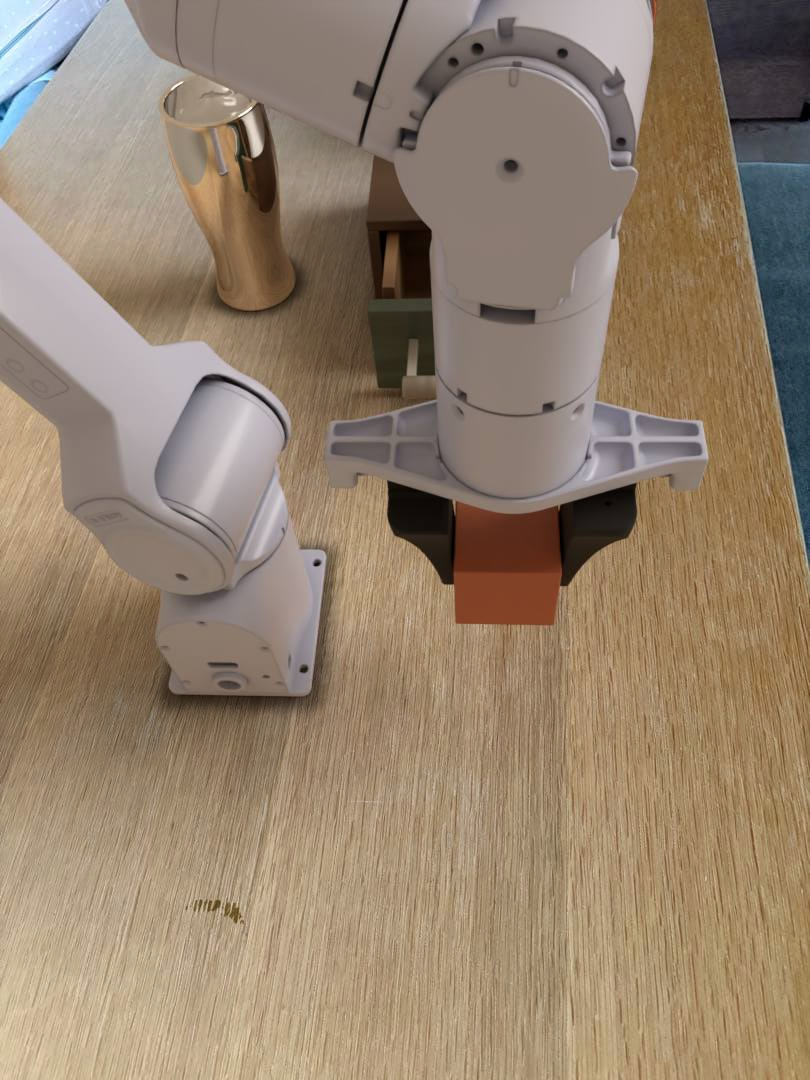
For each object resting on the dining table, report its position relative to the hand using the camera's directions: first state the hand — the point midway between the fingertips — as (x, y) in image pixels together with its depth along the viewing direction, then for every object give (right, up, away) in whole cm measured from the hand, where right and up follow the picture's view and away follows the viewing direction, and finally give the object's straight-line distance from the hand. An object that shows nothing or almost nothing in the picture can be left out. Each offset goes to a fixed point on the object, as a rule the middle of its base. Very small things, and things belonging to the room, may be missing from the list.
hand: (505, 567), depth 42 cm
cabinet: (0, +24, +27) cm, 36 cm away
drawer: (-1, +15, +21) cm, 26 cm away
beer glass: (-16, +21, +27) cm, 38 cm away
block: (0, -1, +1) cm, 1 cm away
